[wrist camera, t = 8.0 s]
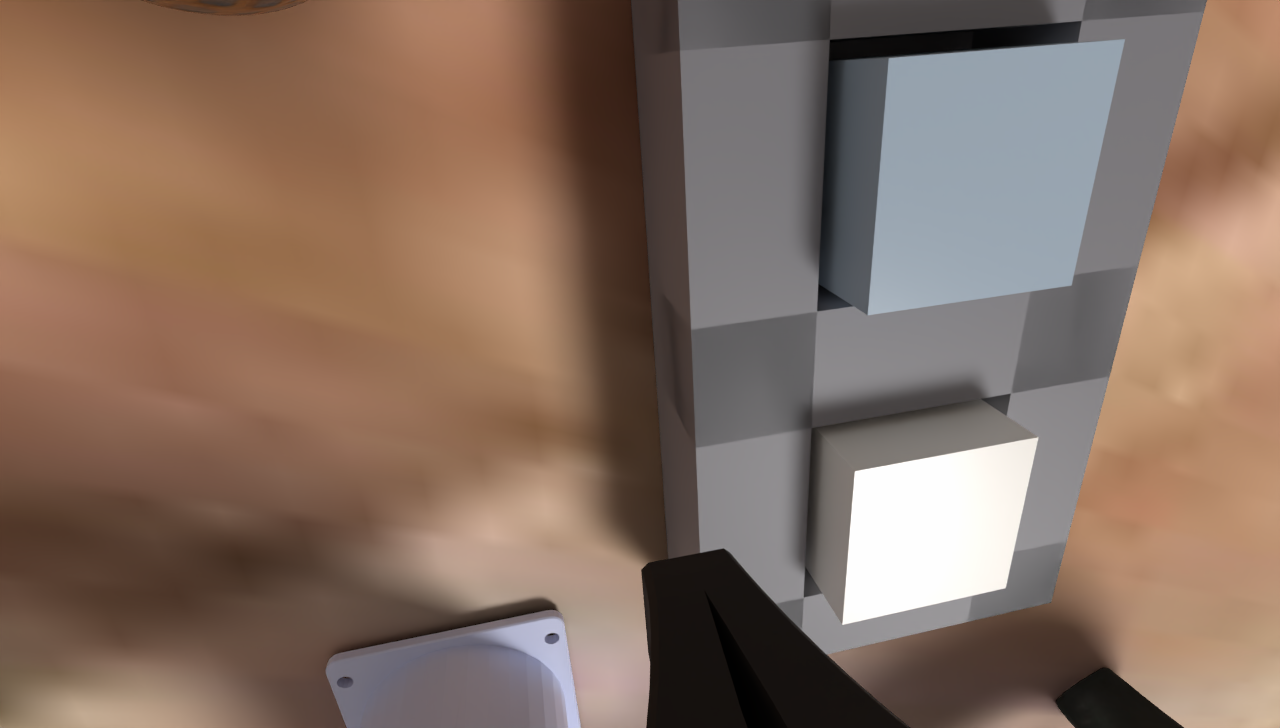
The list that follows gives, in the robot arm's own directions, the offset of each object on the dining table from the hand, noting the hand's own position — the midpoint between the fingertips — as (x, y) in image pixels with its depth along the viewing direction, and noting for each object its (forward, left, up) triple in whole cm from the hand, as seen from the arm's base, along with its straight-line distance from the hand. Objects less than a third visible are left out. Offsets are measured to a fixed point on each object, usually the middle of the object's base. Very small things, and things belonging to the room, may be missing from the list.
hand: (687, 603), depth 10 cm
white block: (-4, -8, -8) cm, 12 cm away
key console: (+1, -8, -10) cm, 13 cm away
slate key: (+5, -8, -8) cm, 13 cm away
